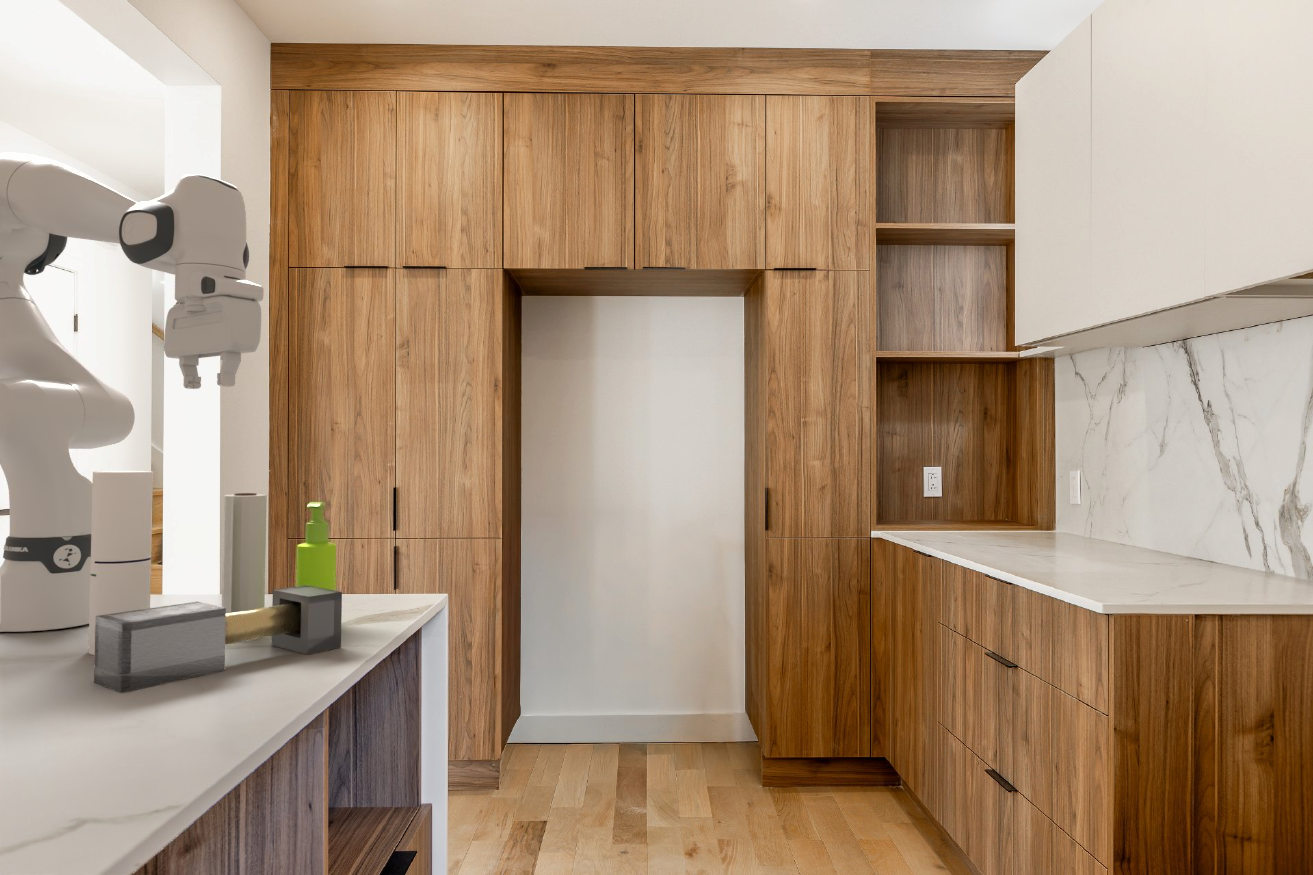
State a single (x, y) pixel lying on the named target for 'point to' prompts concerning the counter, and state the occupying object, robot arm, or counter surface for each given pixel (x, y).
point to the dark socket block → (311, 619)
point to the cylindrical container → (120, 544)
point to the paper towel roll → (244, 552)
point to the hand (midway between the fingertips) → (208, 387)
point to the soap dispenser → (316, 553)
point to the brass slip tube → (263, 622)
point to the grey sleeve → (159, 645)
